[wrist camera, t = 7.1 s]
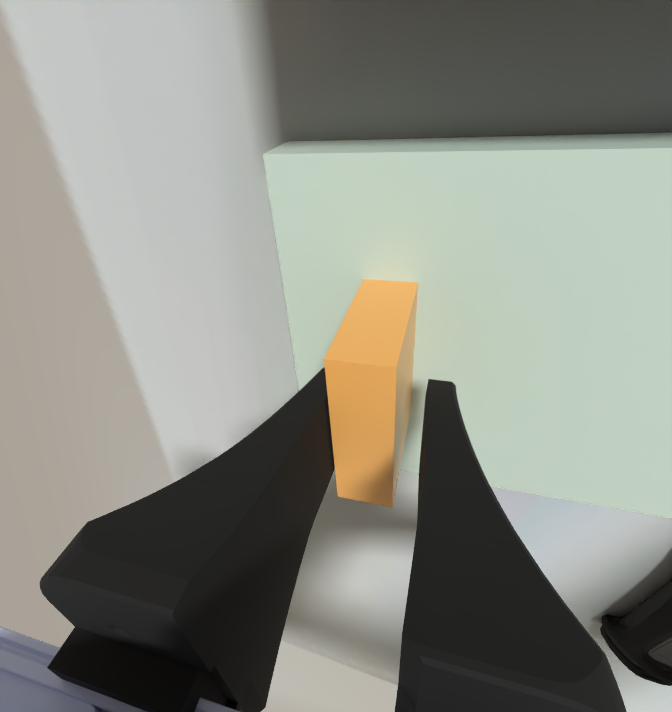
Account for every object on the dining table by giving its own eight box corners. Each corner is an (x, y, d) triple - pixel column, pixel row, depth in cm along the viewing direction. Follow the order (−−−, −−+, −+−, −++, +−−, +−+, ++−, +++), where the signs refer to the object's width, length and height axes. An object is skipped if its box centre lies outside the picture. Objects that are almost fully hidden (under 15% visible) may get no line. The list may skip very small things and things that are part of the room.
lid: (1025, 124, 8) (1665, 221, 4) (731, 488, 15) (835, 674, 11) (287, 141, 12) (177, 199, 8) (321, 424, 19) (273, 540, 15)
